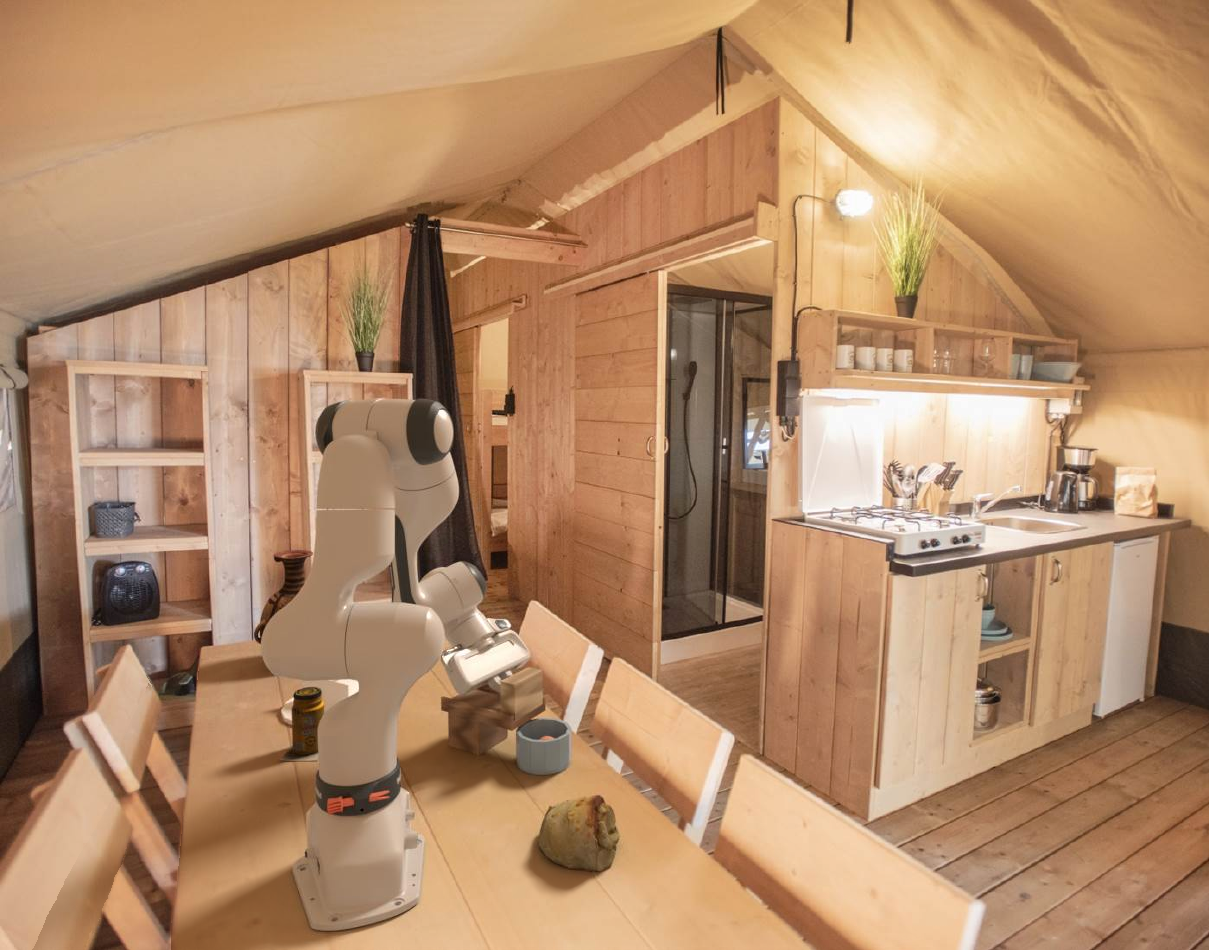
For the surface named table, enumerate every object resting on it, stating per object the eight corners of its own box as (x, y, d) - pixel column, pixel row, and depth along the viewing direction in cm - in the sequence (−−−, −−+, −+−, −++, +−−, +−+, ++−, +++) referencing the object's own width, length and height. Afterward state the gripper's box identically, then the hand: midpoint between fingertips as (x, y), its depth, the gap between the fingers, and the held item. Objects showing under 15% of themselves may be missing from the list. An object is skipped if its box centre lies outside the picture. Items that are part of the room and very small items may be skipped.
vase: (330, 645, 204) (327, 543, 201) (346, 664, 189) (343, 554, 187) (248, 660, 192) (244, 551, 189) (259, 680, 177) (254, 563, 175)
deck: (441, 746, 142) (441, 697, 141) (477, 726, 151) (476, 680, 150) (512, 769, 133) (511, 717, 132) (545, 746, 142) (545, 697, 141)
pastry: (632, 866, 105) (633, 814, 104) (551, 884, 100) (551, 830, 100) (602, 815, 118) (602, 769, 117) (529, 829, 114) (529, 782, 113)
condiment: (332, 741, 144) (331, 684, 143) (317, 761, 136) (315, 701, 135) (296, 741, 144) (294, 684, 143) (279, 761, 136) (276, 701, 135)
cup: (578, 769, 133) (578, 736, 132) (525, 779, 129) (525, 745, 128) (560, 745, 142) (560, 714, 142) (511, 754, 138) (510, 723, 138)
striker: (500, 716, 135) (500, 681, 134) (528, 700, 143) (528, 666, 142) (515, 720, 133) (514, 684, 133) (542, 704, 141) (542, 670, 140)
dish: (412, 688, 173) (411, 643, 172) (368, 733, 148) (367, 681, 147) (317, 684, 176) (316, 640, 175) (258, 728, 151) (256, 677, 150)
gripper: (445, 644, 133) (485, 705, 129) (512, 617, 150) (550, 670, 146) (428, 663, 135) (467, 723, 131) (496, 634, 153) (533, 687, 149)
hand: (511, 695), depth 139 cm, fingers closed, pressing on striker
